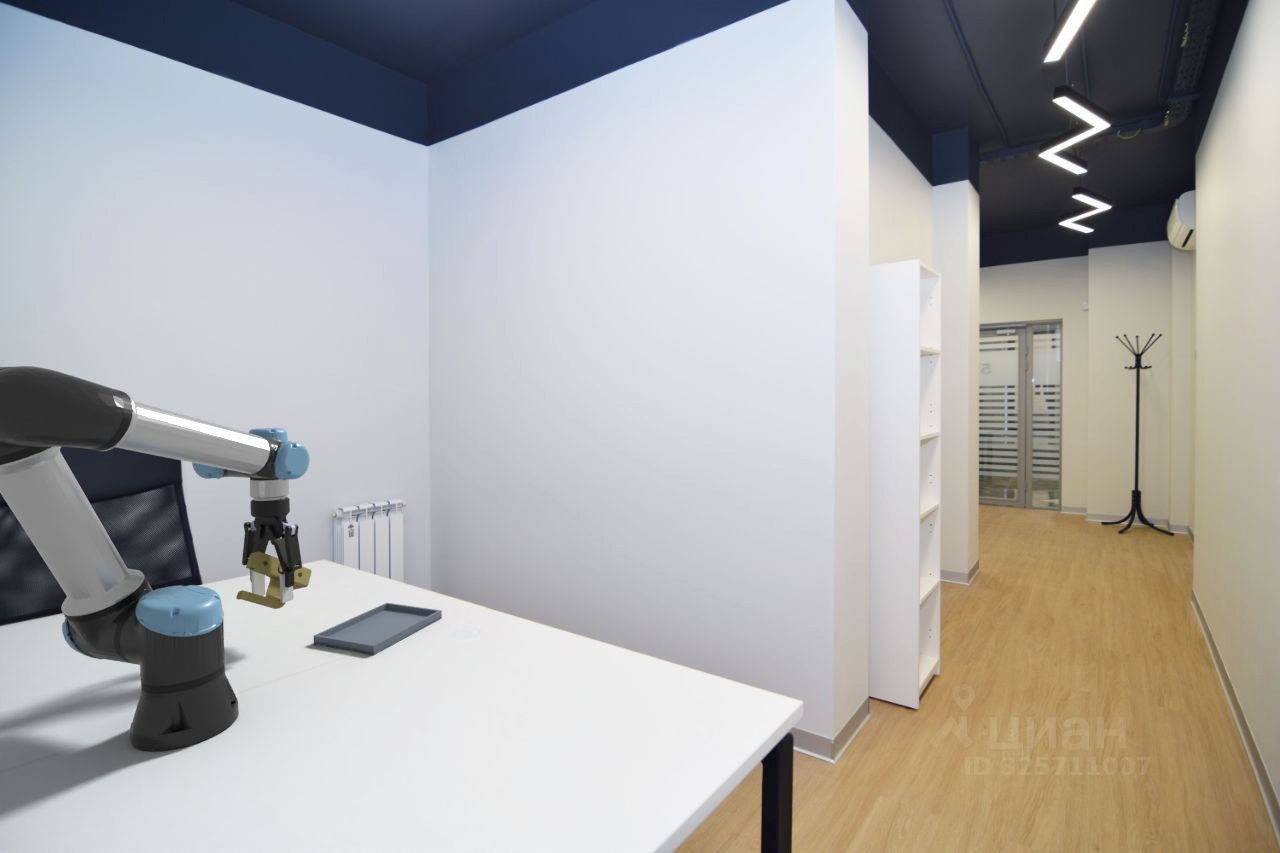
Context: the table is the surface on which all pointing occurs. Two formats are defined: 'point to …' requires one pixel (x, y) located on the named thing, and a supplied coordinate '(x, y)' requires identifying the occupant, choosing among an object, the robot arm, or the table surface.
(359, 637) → the tray
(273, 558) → the bracket
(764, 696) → the table surface
